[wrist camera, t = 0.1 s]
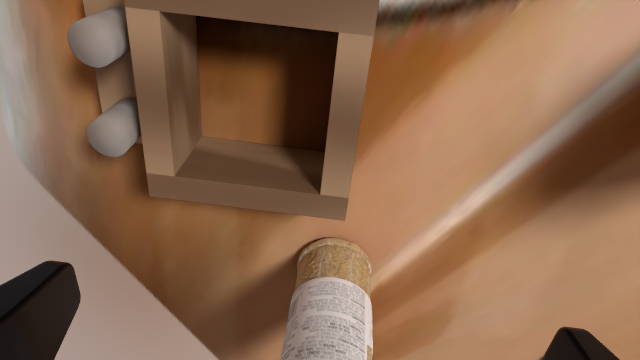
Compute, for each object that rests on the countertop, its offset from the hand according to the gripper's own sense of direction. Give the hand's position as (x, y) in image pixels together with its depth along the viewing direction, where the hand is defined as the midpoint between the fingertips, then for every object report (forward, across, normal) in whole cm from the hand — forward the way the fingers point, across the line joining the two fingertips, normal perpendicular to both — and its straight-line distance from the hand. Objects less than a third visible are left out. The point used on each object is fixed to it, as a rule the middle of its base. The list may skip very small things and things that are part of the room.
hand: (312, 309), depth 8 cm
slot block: (+15, +4, +1) cm, 15 cm away
